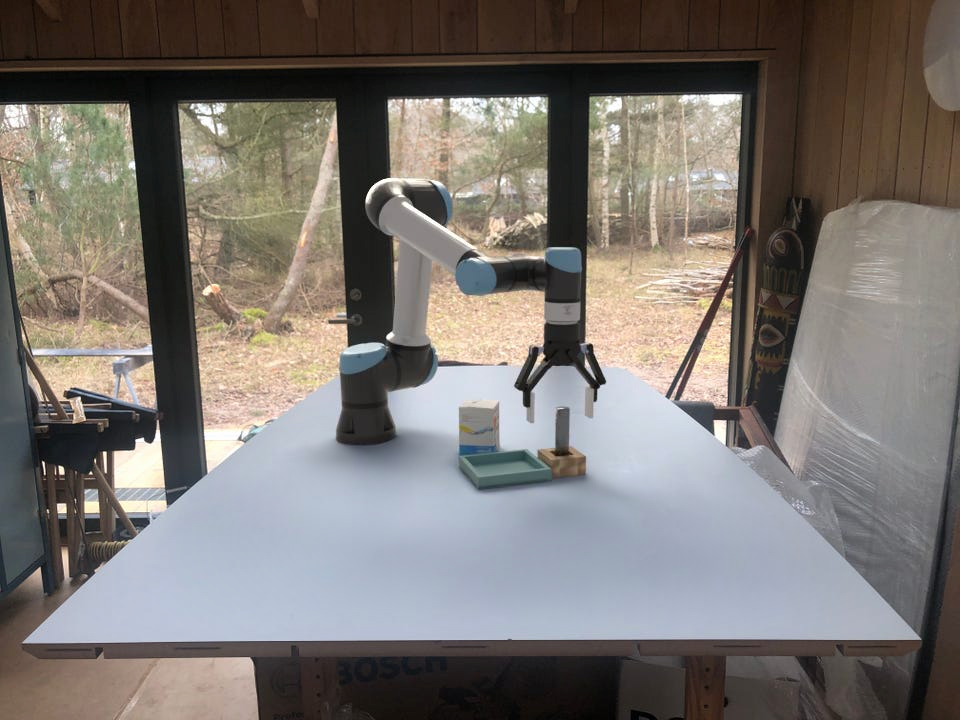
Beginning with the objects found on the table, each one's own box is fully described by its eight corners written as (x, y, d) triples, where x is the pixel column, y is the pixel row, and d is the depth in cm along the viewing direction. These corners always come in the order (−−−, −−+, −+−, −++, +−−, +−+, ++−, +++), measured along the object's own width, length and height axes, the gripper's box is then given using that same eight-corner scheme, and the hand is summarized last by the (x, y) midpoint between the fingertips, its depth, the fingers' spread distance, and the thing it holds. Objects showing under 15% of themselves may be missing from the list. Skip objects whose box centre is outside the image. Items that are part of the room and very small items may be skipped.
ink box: (494, 457, 176) (493, 407, 174) (458, 455, 177) (457, 406, 175) (500, 446, 184) (500, 399, 182) (466, 444, 186) (465, 398, 184)
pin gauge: (557, 473, 164) (558, 410, 161) (552, 469, 166) (553, 407, 164) (570, 472, 164) (572, 409, 162) (565, 467, 167) (566, 405, 165)
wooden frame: (551, 478, 160) (551, 460, 160) (537, 466, 168) (537, 449, 167) (585, 474, 163) (586, 456, 162) (570, 463, 170) (571, 446, 170)
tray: (478, 489, 154) (478, 477, 154) (459, 467, 169) (458, 456, 168) (551, 480, 159) (551, 469, 158) (526, 459, 173) (526, 448, 173)
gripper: (511, 326, 152) (510, 428, 157) (624, 321, 159) (620, 419, 164) (500, 321, 159) (499, 419, 164) (608, 316, 167) (604, 410, 171)
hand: (559, 419), depth 164 cm, fingers open, 13 cm apart
